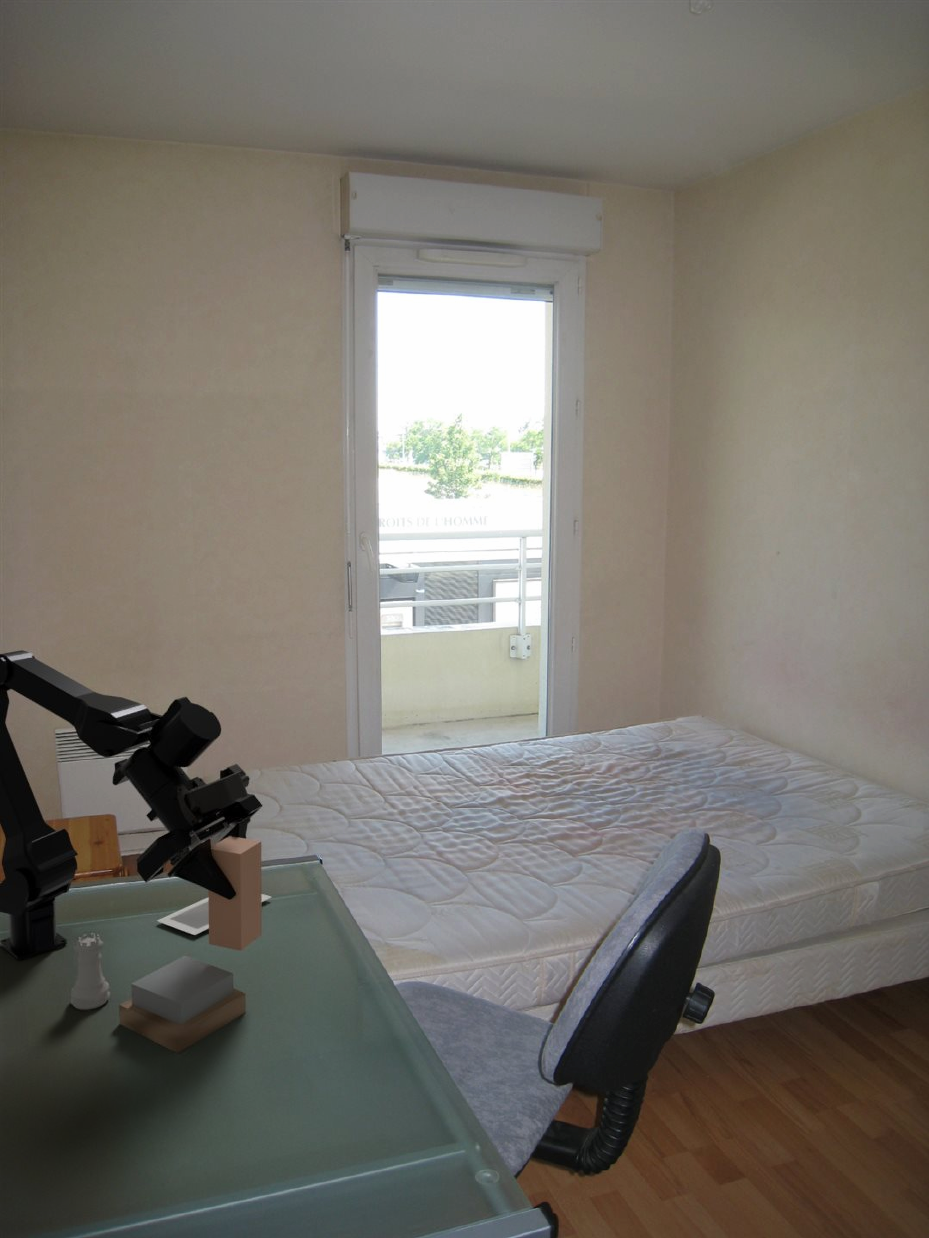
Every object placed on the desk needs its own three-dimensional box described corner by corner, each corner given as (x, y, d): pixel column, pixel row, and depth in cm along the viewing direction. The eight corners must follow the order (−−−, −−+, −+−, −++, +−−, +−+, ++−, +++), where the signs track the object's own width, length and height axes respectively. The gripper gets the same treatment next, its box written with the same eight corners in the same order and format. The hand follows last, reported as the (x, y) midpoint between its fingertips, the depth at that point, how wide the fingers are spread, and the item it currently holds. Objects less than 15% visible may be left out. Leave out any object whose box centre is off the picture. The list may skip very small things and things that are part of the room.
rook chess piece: (96, 1013, 109) (94, 948, 108) (62, 1008, 110) (60, 944, 109) (117, 994, 113) (116, 931, 112) (84, 989, 114) (82, 927, 113)
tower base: (119, 1028, 107) (119, 1004, 107) (188, 991, 115) (188, 968, 115) (177, 1058, 102) (177, 1032, 101) (245, 1016, 110) (245, 993, 110)
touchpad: (156, 928, 132) (156, 913, 132) (235, 891, 145) (234, 878, 144) (194, 942, 128) (194, 927, 128) (272, 903, 140) (271, 890, 140)
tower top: (131, 1004, 107) (131, 983, 106) (185, 974, 114) (184, 955, 113) (181, 1024, 103) (180, 1003, 102) (233, 993, 110) (233, 973, 109)
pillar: (209, 943, 112) (207, 848, 111) (230, 928, 116) (229, 835, 115) (241, 950, 111) (240, 854, 109) (261, 934, 115) (261, 841, 113)
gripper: (155, 769, 103) (241, 880, 101) (249, 732, 120) (324, 825, 118) (99, 828, 107) (181, 936, 104) (198, 783, 124) (270, 875, 122)
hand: (244, 889), depth 112 cm, fingers closed on pillar, 4 cm apart
